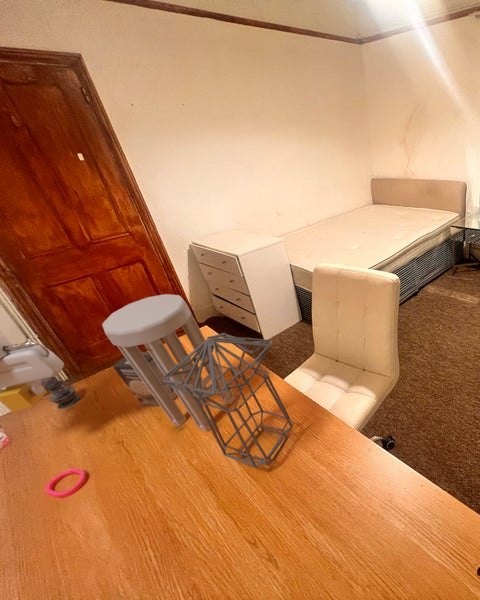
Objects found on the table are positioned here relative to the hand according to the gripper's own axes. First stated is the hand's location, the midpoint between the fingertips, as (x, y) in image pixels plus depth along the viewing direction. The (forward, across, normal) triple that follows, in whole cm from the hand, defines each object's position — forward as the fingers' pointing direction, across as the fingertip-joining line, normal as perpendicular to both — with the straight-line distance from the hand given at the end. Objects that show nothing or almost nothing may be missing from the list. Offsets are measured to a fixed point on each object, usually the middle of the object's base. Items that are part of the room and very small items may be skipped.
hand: (25, 396), depth 72 cm
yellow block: (+2, 0, 0) cm, 2 cm away
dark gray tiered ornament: (+19, +11, -19) cm, 29 cm away
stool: (+19, -32, 0) cm, 37 cm away
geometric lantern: (+19, -49, +18) cm, 56 cm away
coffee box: (+19, -18, -10) cm, 28 cm away
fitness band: (+19, -4, +12) cm, 23 cm away
